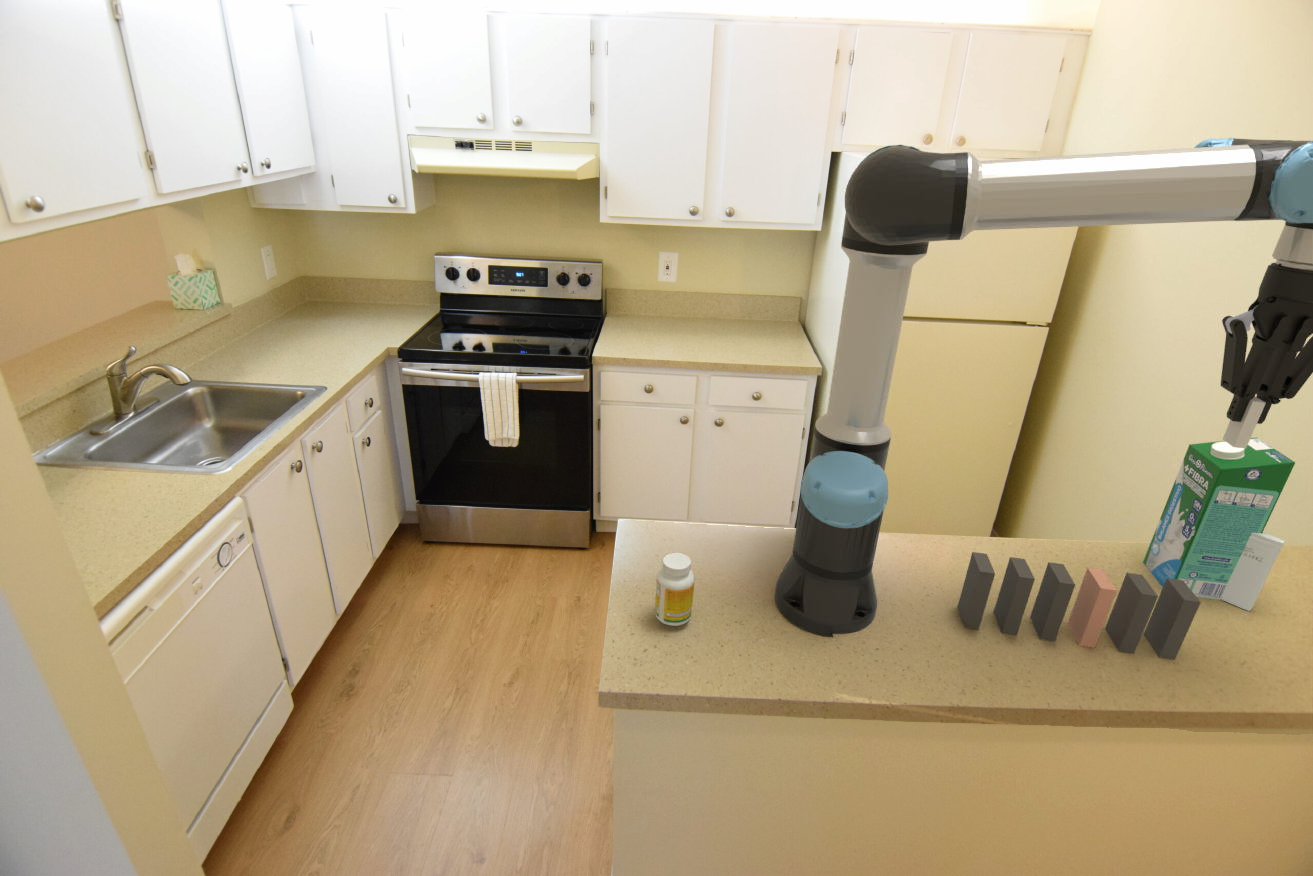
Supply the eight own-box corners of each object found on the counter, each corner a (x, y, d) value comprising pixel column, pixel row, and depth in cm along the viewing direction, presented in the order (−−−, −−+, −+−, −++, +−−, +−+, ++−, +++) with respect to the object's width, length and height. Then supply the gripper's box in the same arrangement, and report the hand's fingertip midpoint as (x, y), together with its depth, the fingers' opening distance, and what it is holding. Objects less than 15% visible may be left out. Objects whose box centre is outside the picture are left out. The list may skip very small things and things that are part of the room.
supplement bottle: (647, 614, 101) (649, 559, 97) (672, 598, 104) (675, 545, 100) (674, 632, 98) (677, 576, 94) (699, 615, 101) (703, 561, 97)
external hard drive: (1191, 582, 113) (1219, 516, 108) (1252, 607, 107) (1285, 540, 102) (1187, 585, 112) (1216, 520, 107) (1249, 612, 106) (1283, 544, 101)
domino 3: (1040, 639, 99) (1059, 582, 95) (1030, 617, 104) (1048, 562, 100) (1055, 641, 99) (1075, 584, 95) (1044, 619, 103) (1063, 564, 99)
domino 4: (1079, 645, 98) (1101, 588, 94) (1067, 623, 103) (1087, 567, 99) (1094, 648, 98) (1116, 590, 94) (1082, 625, 103) (1102, 569, 98)
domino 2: (1001, 633, 100) (1019, 576, 96) (993, 612, 105) (1010, 557, 100) (1016, 635, 100) (1034, 579, 96) (1007, 614, 104) (1024, 558, 100)
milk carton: (1141, 563, 118) (1194, 430, 108) (1199, 570, 117) (1257, 436, 107) (1168, 595, 110) (1227, 454, 100) (1230, 603, 109) (1296, 461, 99)
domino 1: (964, 628, 101) (980, 571, 97) (957, 606, 105) (972, 551, 101) (978, 630, 101) (995, 573, 96) (971, 608, 105) (986, 553, 101)
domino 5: (1118, 651, 98) (1142, 593, 93) (1105, 628, 102) (1126, 572, 98) (1134, 653, 97) (1158, 596, 93) (1119, 630, 102) (1142, 574, 98)
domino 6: (1159, 657, 97) (1184, 599, 93) (1143, 634, 101) (1166, 578, 97) (1174, 660, 96) (1200, 602, 92) (1158, 636, 101) (1182, 580, 97)
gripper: (1267, 266, 80) (1194, 449, 90) (1396, 275, 78) (1307, 461, 88) (1232, 256, 87) (1167, 427, 97) (1349, 264, 85) (1271, 438, 95)
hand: (1234, 443), depth 92 cm, fingers closed
